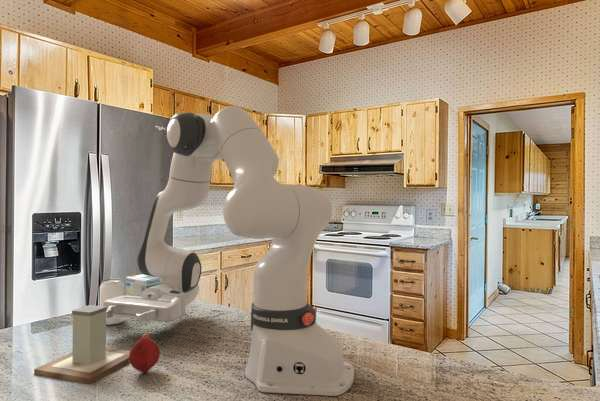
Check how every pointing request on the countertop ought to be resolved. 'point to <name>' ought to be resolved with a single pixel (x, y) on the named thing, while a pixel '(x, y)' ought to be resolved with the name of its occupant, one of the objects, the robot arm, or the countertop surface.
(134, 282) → the light bulb box
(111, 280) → the can
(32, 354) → the countertop surface
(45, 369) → the board
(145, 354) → the onion
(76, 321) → the tea tin
